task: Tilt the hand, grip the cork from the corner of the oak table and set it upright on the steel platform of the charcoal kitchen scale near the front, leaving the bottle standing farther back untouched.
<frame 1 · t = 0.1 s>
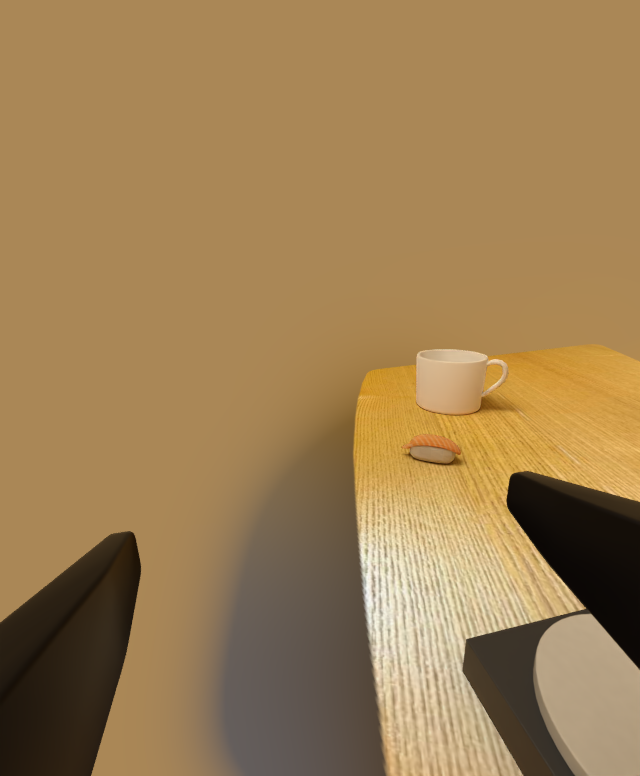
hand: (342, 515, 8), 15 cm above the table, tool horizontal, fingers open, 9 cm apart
sushi: (429, 460, 41), on the table
mug: (456, 406, 58), on the table
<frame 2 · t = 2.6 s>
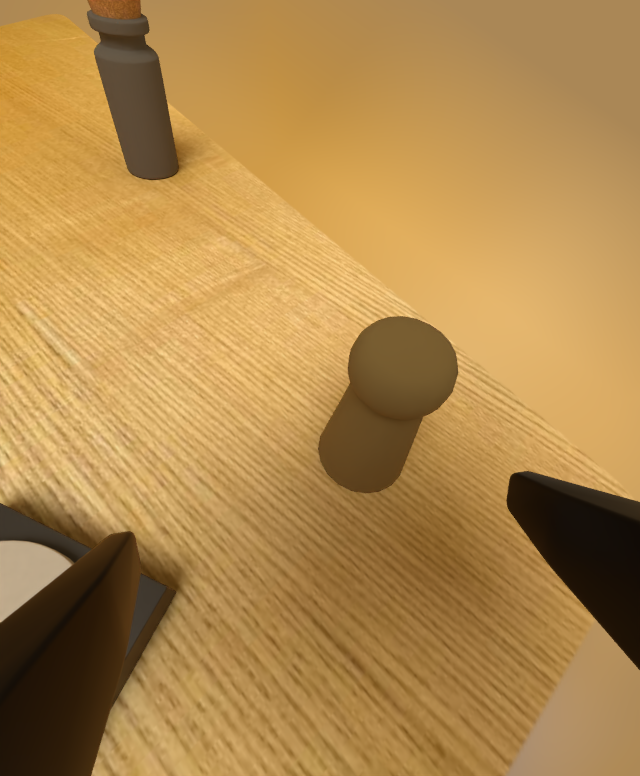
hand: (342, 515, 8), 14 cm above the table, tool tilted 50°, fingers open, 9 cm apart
scale: (0, 666, 16), on the table
cork: (360, 451, 25), on the table
bottle: (154, 169, 44), on the table
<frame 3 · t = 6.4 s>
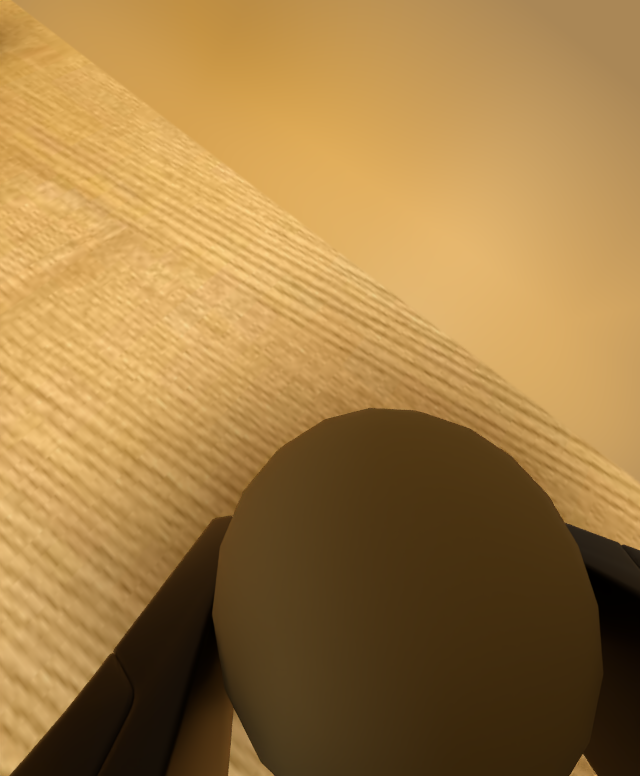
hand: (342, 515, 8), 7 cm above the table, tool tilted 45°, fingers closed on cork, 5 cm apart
cork: (314, 584, 14), on the table, touching gripper
when the fingers open (10 cm above the table, at t = 13.9 s): cork stays where it is, resting on scale.
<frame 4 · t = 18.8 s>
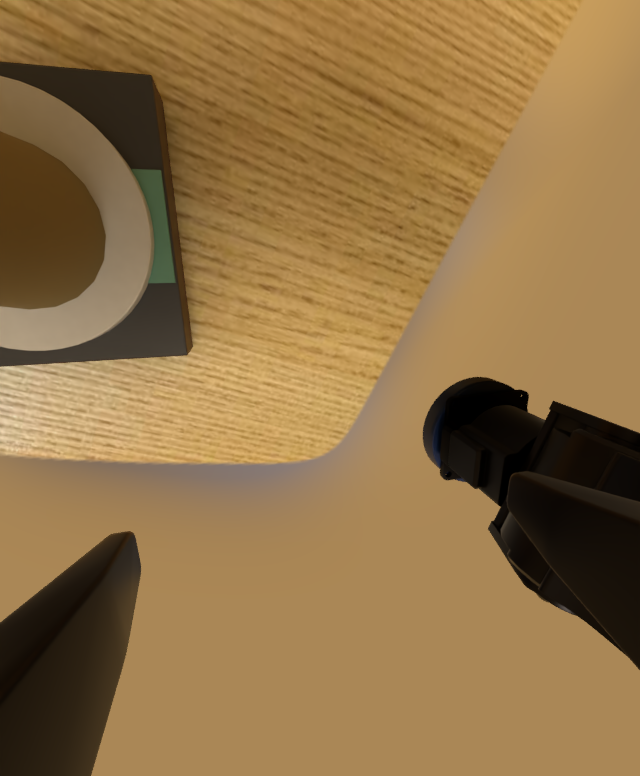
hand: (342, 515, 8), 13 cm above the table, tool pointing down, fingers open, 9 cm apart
scale: (51, 234, 16), on the table
cork: (20, 228, 14), point 3 cm above the table, touching scale
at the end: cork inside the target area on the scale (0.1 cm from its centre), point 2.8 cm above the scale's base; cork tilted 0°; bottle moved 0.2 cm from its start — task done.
